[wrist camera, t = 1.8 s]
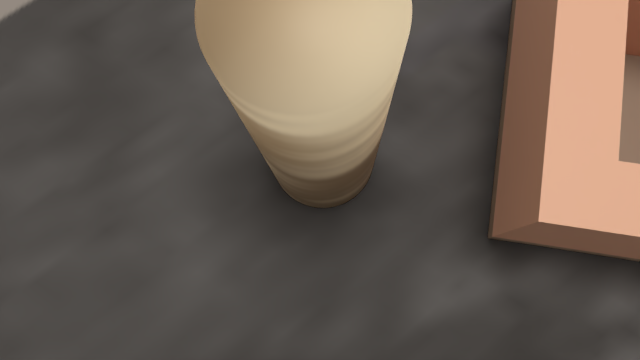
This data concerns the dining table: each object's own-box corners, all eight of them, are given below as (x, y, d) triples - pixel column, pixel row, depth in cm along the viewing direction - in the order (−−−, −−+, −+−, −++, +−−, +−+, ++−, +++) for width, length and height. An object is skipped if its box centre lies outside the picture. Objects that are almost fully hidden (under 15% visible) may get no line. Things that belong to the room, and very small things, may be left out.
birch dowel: (393, 147, 22) (455, -14, 10) (333, 228, 21) (324, 157, 10) (313, 90, 22) (283, -125, 11) (252, 167, 22) (151, 31, 10)
